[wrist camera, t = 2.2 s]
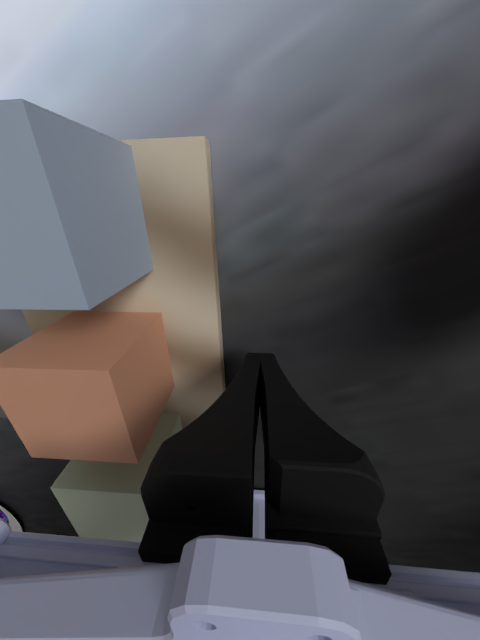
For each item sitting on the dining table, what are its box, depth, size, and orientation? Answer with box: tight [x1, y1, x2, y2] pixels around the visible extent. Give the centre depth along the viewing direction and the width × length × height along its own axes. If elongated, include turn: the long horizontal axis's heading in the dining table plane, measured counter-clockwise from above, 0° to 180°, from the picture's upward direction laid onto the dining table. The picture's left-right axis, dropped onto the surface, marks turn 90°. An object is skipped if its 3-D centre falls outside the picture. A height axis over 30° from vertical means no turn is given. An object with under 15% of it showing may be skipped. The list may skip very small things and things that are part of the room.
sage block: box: [50, 413, 182, 542], centre depth 15 cm, size 5×5×5 cm
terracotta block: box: [0, 311, 175, 464], centre depth 12 cm, size 5×5×5 cm
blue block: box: [0, 99, 153, 310], centre depth 9 cm, size 5×5×5 cm
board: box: [0, 136, 226, 429], centre depth 15 cm, size 20×21×1 cm
